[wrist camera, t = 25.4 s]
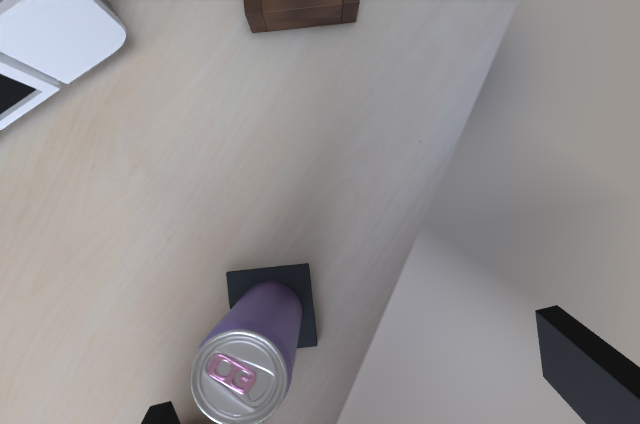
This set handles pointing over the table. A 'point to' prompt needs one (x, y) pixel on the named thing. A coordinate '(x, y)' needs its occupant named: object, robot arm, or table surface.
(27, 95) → the alarm clock
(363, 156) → the table surface
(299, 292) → the coaster
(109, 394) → the table surface
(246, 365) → the beverage can
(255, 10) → the holder
